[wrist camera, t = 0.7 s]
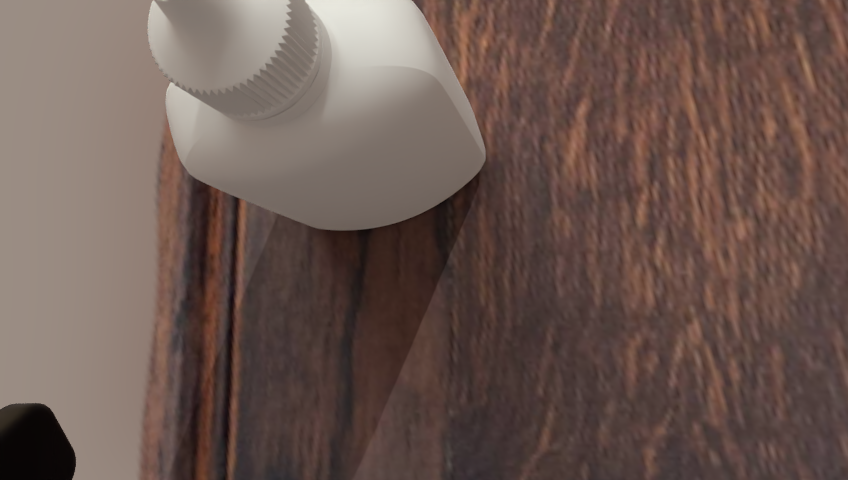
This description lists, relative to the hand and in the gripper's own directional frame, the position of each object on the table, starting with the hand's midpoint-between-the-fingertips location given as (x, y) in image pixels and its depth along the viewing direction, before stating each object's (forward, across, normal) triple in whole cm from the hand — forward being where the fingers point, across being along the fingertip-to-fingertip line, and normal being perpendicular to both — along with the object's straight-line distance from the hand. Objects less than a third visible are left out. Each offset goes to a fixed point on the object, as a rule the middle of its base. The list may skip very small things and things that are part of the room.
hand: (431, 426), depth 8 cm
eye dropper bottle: (+14, +4, +4) cm, 15 cm away
